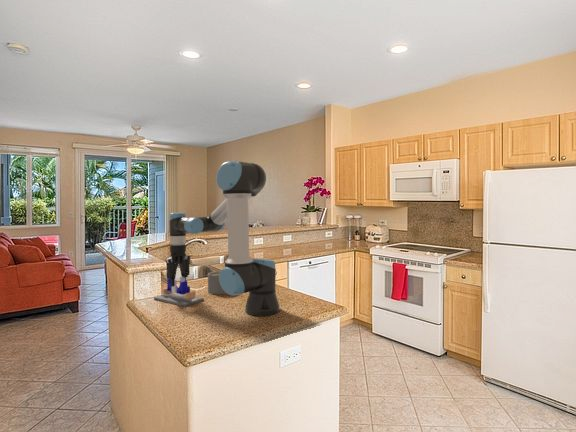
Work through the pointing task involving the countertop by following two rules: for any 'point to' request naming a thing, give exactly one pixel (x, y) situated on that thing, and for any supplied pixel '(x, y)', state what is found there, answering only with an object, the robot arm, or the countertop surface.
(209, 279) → the coffee mug
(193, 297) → the rail mount
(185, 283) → the cable clip
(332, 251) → the countertop surface
